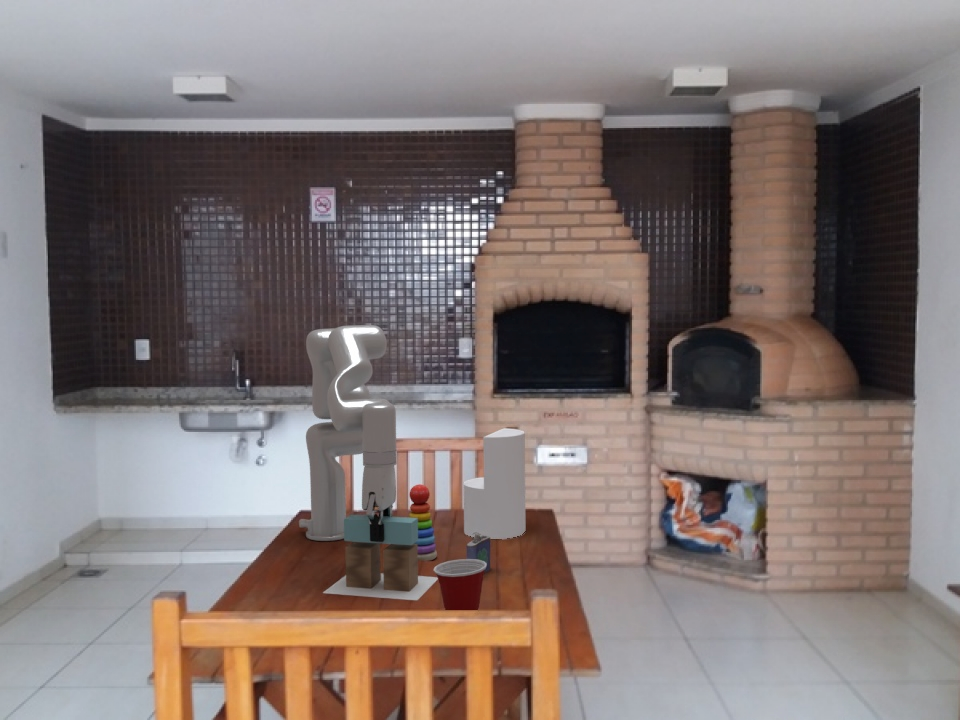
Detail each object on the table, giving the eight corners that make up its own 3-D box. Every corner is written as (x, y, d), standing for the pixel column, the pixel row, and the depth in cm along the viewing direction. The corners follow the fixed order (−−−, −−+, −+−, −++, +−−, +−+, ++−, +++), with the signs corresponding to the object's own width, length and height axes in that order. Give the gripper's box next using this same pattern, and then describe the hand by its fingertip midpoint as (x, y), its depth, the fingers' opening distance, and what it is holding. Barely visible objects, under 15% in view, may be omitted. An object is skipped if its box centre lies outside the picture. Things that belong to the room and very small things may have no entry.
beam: (344, 540, 201) (343, 519, 200) (351, 535, 205) (351, 514, 205) (411, 545, 197) (411, 522, 196) (418, 539, 201) (417, 518, 201)
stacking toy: (442, 555, 227) (441, 483, 226) (427, 564, 220) (426, 489, 219) (415, 552, 231) (414, 480, 229) (400, 560, 224) (398, 486, 222)
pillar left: (346, 586, 201) (345, 547, 200) (356, 578, 206) (355, 540, 206) (371, 588, 199) (370, 549, 198) (380, 580, 205) (380, 541, 204)
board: (322, 597, 197) (322, 592, 197) (350, 575, 212) (350, 571, 212) (417, 604, 191) (417, 600, 191) (439, 581, 207) (439, 577, 206)
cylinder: (533, 526, 256) (532, 429, 254) (514, 541, 239) (513, 438, 237) (476, 521, 261) (475, 427, 259) (454, 536, 245) (453, 435, 243)
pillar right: (383, 589, 198) (383, 549, 198) (393, 581, 204) (392, 542, 203) (409, 591, 197) (408, 551, 196) (418, 583, 202) (417, 544, 202)
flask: (473, 584, 205) (473, 538, 204) (462, 582, 206) (462, 536, 205) (492, 573, 213) (492, 528, 212) (482, 571, 214) (481, 527, 213)
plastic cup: (444, 611, 187) (443, 555, 186) (494, 615, 184) (493, 558, 183) (426, 629, 177) (425, 570, 176) (478, 635, 174) (478, 574, 173)
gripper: (377, 451, 209) (379, 528, 210) (349, 464, 192) (351, 547, 194) (408, 452, 207) (409, 529, 208) (381, 465, 190) (383, 549, 192)
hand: (381, 537), depth 201 cm, fingers closed on beam, 4 cm apart
